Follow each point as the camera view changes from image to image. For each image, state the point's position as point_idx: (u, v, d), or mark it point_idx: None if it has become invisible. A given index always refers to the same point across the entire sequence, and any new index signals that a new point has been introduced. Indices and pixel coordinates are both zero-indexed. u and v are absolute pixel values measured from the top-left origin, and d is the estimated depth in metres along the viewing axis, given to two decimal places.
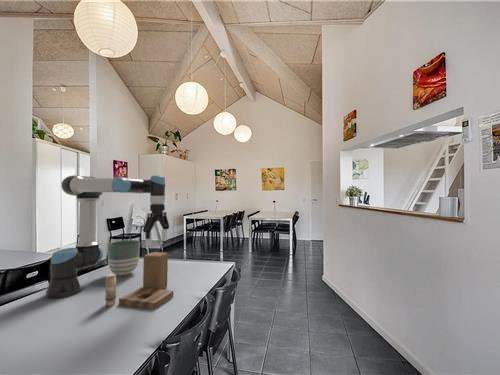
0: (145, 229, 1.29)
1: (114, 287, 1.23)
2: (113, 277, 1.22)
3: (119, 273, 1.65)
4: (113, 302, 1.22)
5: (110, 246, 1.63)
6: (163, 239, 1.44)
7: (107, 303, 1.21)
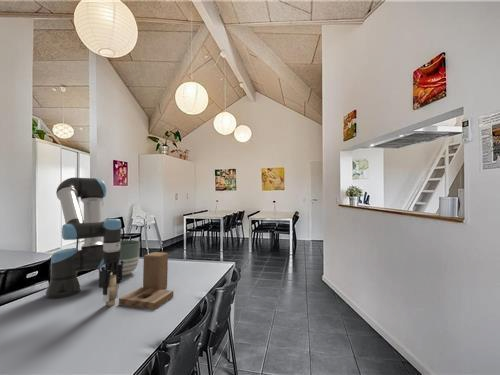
0: (101, 285, 1.18)
1: (114, 287, 1.23)
2: (113, 277, 1.22)
3: None
4: (113, 302, 1.22)
5: None
6: None
7: (107, 303, 1.21)
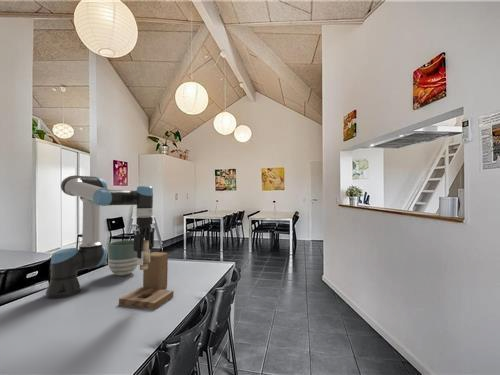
0: (136, 248, 1.21)
1: (147, 252, 1.26)
2: (146, 242, 1.26)
3: (119, 273, 1.65)
4: (146, 266, 1.26)
5: (110, 246, 1.63)
6: None
7: (141, 267, 1.25)
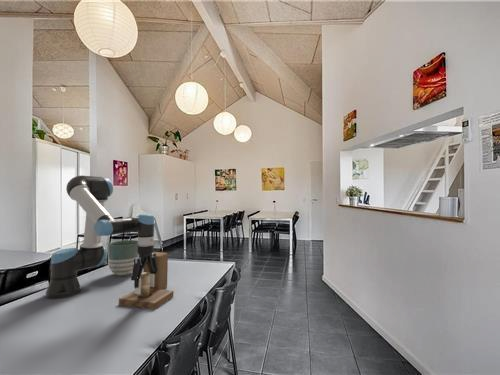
0: (133, 278, 1.19)
1: (148, 285, 1.26)
2: (147, 275, 1.25)
3: (119, 273, 1.65)
4: None
5: (110, 246, 1.63)
6: (150, 285, 1.31)
7: None
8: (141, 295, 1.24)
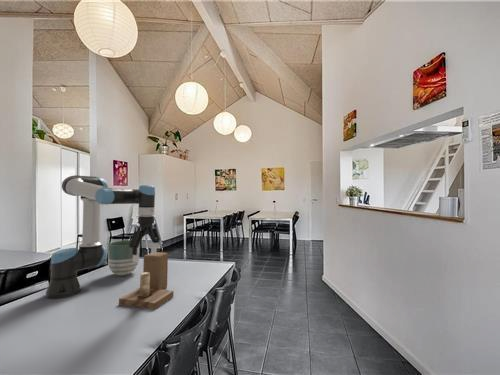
0: (131, 245, 1.18)
1: (148, 285, 1.26)
2: (147, 275, 1.25)
3: (119, 273, 1.65)
4: None
5: (110, 246, 1.63)
6: (153, 253, 1.33)
7: None
8: (141, 295, 1.24)
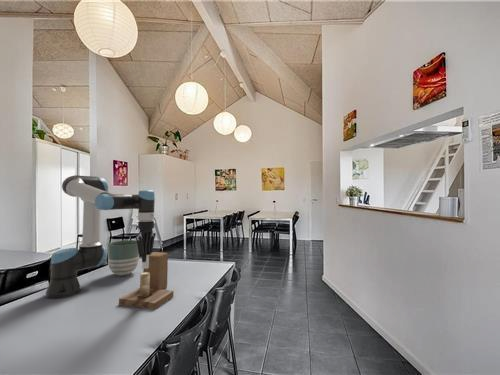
0: None
1: (148, 285, 1.26)
2: (147, 275, 1.25)
3: (119, 273, 1.65)
4: None
5: (110, 246, 1.63)
6: None
7: None
8: (141, 295, 1.24)
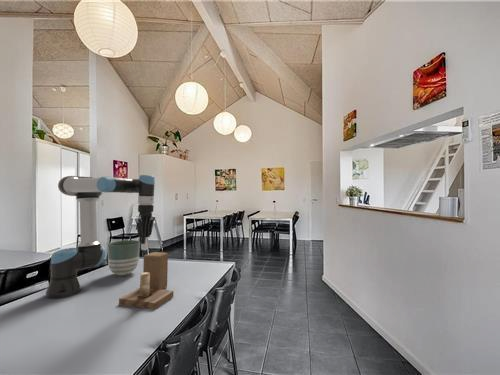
0: None
1: (148, 285, 1.26)
2: (147, 275, 1.25)
3: (119, 273, 1.65)
4: None
5: (110, 246, 1.63)
6: None
7: None
8: (141, 295, 1.24)
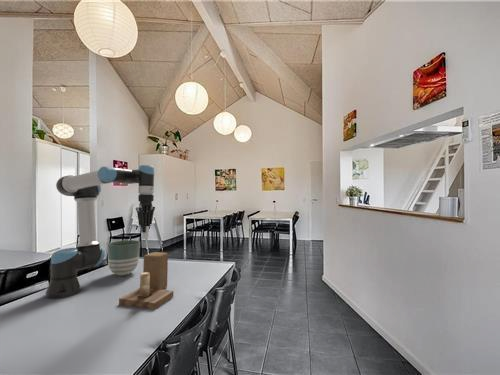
0: (141, 223, 1.31)
1: (148, 285, 1.26)
2: (147, 275, 1.25)
3: (119, 273, 1.65)
4: None
5: (110, 246, 1.63)
6: None
7: None
8: (141, 295, 1.24)
